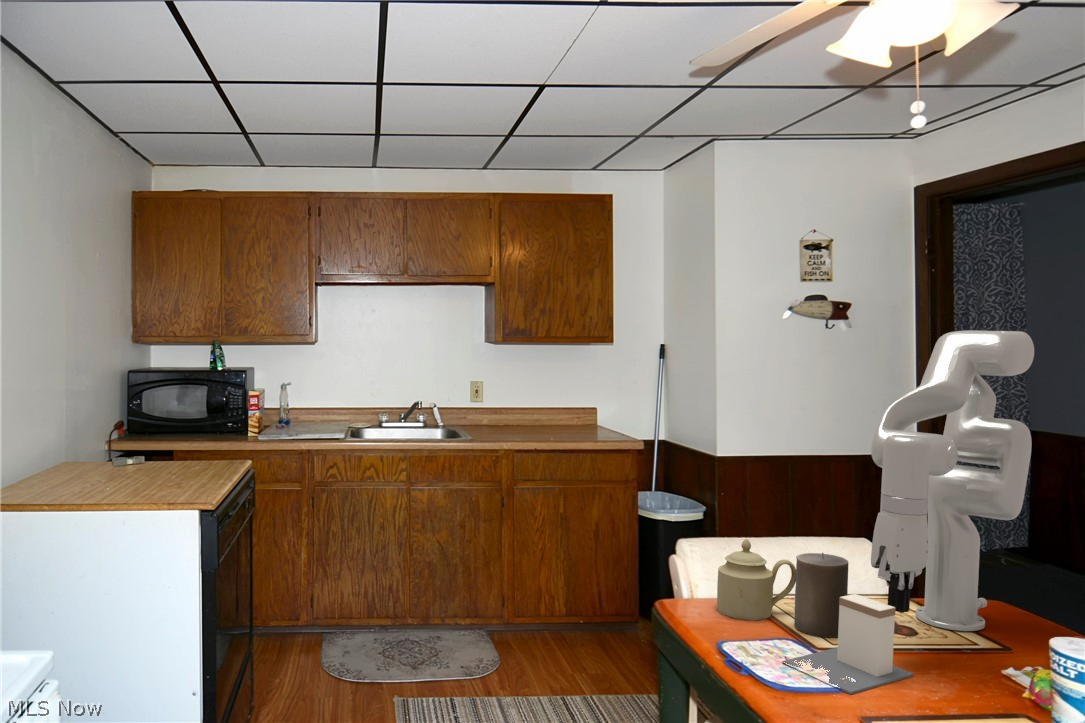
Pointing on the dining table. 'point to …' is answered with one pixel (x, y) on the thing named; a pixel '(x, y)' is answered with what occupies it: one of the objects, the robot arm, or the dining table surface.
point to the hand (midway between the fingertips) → (898, 610)
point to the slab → (866, 634)
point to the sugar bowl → (749, 585)
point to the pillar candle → (819, 593)
